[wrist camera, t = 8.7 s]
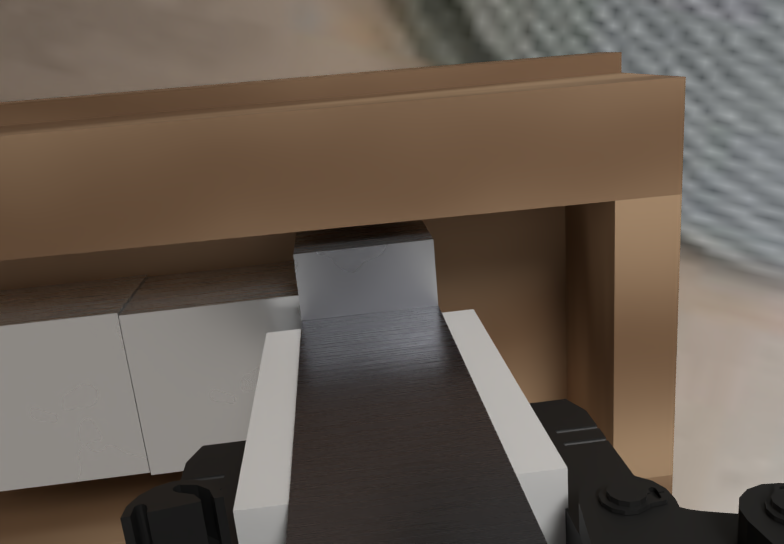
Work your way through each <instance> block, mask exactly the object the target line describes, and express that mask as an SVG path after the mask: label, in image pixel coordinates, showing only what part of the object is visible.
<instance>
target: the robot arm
mask: <svg viewBox="0 0 784 544" xmlns="http://www.w3.org/2000/svg"><path fill="white" fill-rule="evenodd" d="M442 315H443V317H444V319H445V321H446V323H447V325H448V328H449V330H450V332H451V334H452V336H453V339H454V341H455V343H456V345H457V347H458V349H459V352H460V354H461V356H462V358H463V360H464V363H465V365H466V367H467V369H468V371H469V373H470V376H471V378H472V380H473V382H474V384H475V387H476V389H477V391H478V393H479V395H480V397H481V400H482V402H483V404H484V406H485V408H486V411H487V413H488V415H489V417H490V419H491V421H492V424H493V426H494V428H495V430H496V432H497V435H498V437H499V439H500V441H501V443H502V445H503V448H504V450H505V452H506V454H507V456H508V458H509V461H510V463H511V465H512V467H513V469H514V472H515V474H516V476H517V478H518V480H519V482H520V485H521V487H522V489H523V491H524V493H525V496H526V498H527V500H528V502H529V504H530V506H531V509H532V511H533V513H534V515H535V517H536V520H537V522H538V524H539V526H540V528H541V530H542V533H543V535H544V537H545V539H546V541H547V544H784V483H775V484H761V485H758V486H755V487H753V488H750V489H747V490H746V491H745V492H744V493H743V494H742V496H741V497H740V498H739V514H732V513H719V512H705V511H697V510H690V509H685V508H681V507H679V505H678V503H677V501H676V499H675V498H674V497H673V496H672V494H671V493H670V492H669V491H668V490H667V489H666V488H665V487H663V486H661V485H659V484H657V483H656V482H654V481H652V480H648V479H645V478H641V477H637V476H634V475H633V473H632V472H631V470H630V469H629V468H628V466H627V465H626V464H625V462H624V461H623V460H622V458H621V457H620V456H619V454H618V453H617V452H616V450H615V449H614V447H613V446H612V445H611V443H610V442H609V441H608V440H606V437H605V435H604V434H603V433H602V431H601V430H600V428H597V424H596V423H595V422H594V420H593V419H592V418H591V416H590V415H589V414H588V412H587V411H586V410H585V409H583V408H581V407H579V406H577V405H576V404H574V403H572V402H570V401H569V400H567V399H560V400H552V401H544V402H536V403H529V402H528V400H527V399H526V397H525V395H524V394H523V392H522V390H521V388H520V387H519V385H518V383H517V382H516V380H515V378H514V377H513V375H512V373H511V372H510V370H509V368H508V367H507V365H506V363H505V361H504V360H503V358H502V356H501V355H500V353H499V351H498V350H497V348H496V346H495V345H494V343H493V341H492V340H491V338H490V336H489V334H488V333H487V331H486V329H485V328H484V326H483V324H482V323H481V321H480V319H479V318H478V316H477V314H476V313H475V311H474V309H470V310H461V311H453V312H444V313H442ZM300 340H301V329H296V330H287V331H278V332H270V333H266V338H265V343H264V349H263V354H262V359H261V365H260V370H259V375H258V381H257V386H256V391H255V397H254V402H253V407H252V412H251V418H250V423H249V428H248V434H247V439H246V440H245V441H236V442H228V443H220V444H212V445H204V446H202V447H201V448H200V449H199V450H198V451H197V452H196V453H195V454H194V455H193V456H192V457H191V458H190V459H189V460H188V461H187V462H186V464H185V468H184V471H183V474H182V477H181V480H180V481H173V482H169V483H166V484H163V485H159V486H156V487H154V488H152V489H150V490H148V491H146V492H144V493H142V494H140V495H139V496H137V497H136V498H135V499H134V500H133V501H132V502H131V503H129V504H128V505H127V506H126V507H125V510H124V512H123V514H122V516H121V518H120V520H121V524H122V529H123V533H124V538H125V542H126V544H286V539H287V525H288V510H289V496H290V482H291V468H292V454H293V440H294V425H295V411H296V397H297V383H298V369H299V355H300Z"/></svg>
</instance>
